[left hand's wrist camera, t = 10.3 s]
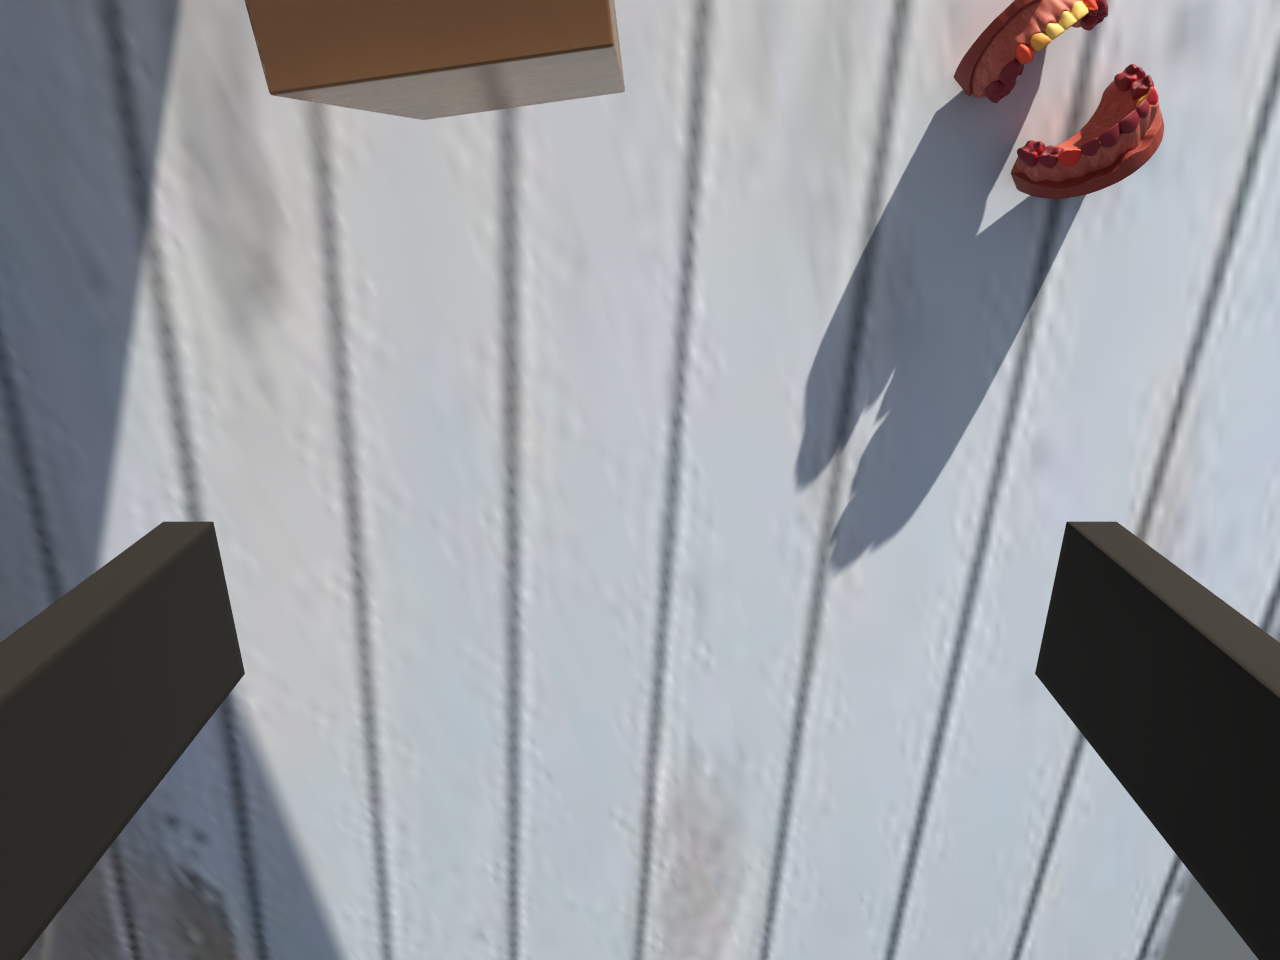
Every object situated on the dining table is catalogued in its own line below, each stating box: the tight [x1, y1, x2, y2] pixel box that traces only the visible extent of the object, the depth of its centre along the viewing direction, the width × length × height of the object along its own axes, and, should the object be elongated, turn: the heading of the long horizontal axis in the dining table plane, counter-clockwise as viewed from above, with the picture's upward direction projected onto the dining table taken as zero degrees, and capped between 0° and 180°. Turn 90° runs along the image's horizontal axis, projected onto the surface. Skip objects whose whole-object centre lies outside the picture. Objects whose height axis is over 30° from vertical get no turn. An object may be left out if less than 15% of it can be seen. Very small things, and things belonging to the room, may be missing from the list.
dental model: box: [954, 0, 1164, 198], centre depth 31 cm, size 6×4×8 cm
